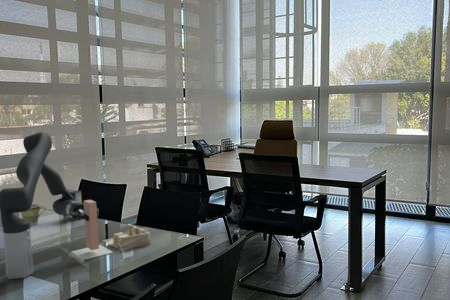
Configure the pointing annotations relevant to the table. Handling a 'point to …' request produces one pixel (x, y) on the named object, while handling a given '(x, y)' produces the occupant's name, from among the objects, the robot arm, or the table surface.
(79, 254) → the mat
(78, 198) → the coffee box
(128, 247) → the rack
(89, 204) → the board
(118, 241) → the offcut stack
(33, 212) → the ceramic cup
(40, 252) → the table surface
